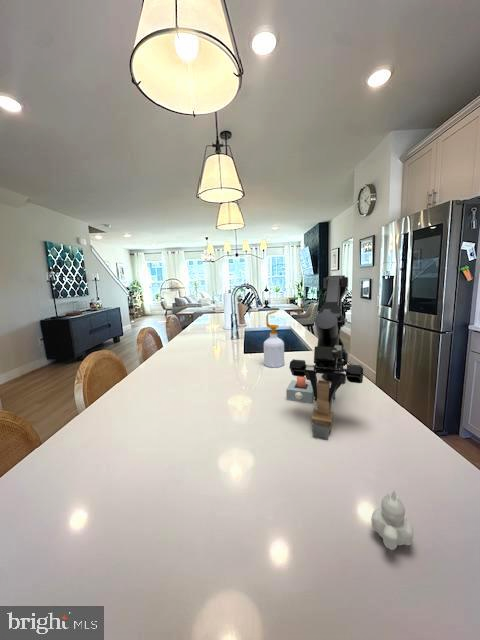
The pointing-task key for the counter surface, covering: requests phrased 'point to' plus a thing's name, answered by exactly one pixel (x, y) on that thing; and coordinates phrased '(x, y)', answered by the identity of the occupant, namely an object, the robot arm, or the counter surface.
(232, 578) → the counter surface
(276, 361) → the soap bottle
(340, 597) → the counter surface
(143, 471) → the counter surface
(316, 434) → the rail
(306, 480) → the counter surface
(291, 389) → the box
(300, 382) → the button
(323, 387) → the wooden t-block
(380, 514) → the white animal figurine
